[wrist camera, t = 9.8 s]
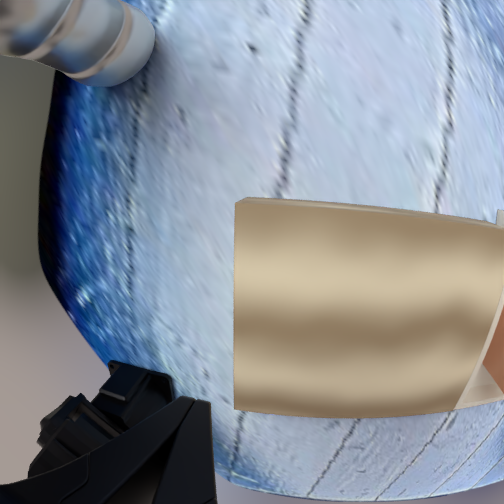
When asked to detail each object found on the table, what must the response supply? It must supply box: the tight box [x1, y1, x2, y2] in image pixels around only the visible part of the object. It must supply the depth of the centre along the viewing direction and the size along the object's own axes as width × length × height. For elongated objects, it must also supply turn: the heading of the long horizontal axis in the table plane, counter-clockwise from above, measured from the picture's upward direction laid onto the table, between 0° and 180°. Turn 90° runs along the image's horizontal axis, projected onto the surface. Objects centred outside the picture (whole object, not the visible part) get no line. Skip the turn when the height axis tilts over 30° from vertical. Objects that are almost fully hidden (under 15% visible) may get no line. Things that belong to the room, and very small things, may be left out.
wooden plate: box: [234, 197, 504, 418], centre depth 17 cm, size 14×17×4 cm
